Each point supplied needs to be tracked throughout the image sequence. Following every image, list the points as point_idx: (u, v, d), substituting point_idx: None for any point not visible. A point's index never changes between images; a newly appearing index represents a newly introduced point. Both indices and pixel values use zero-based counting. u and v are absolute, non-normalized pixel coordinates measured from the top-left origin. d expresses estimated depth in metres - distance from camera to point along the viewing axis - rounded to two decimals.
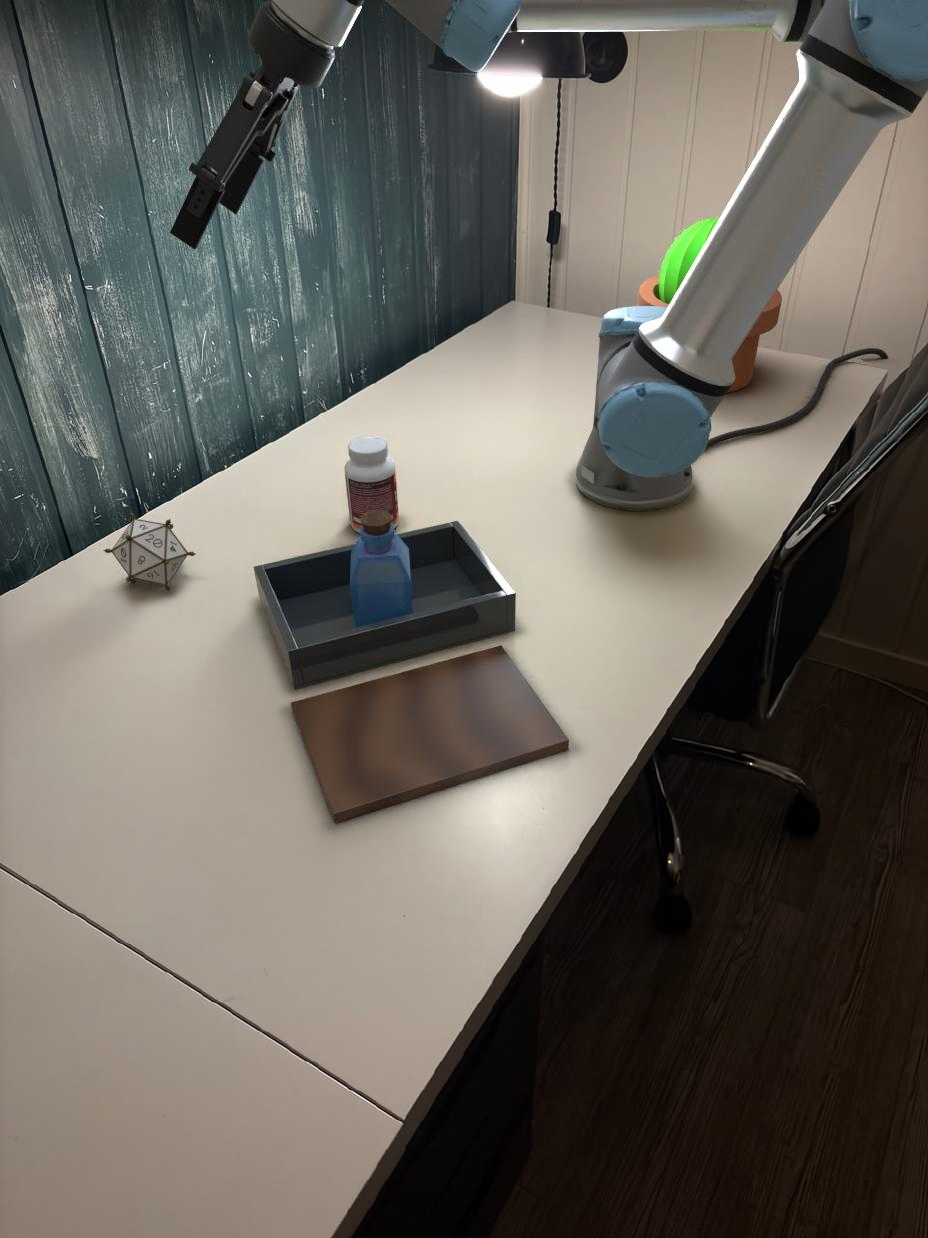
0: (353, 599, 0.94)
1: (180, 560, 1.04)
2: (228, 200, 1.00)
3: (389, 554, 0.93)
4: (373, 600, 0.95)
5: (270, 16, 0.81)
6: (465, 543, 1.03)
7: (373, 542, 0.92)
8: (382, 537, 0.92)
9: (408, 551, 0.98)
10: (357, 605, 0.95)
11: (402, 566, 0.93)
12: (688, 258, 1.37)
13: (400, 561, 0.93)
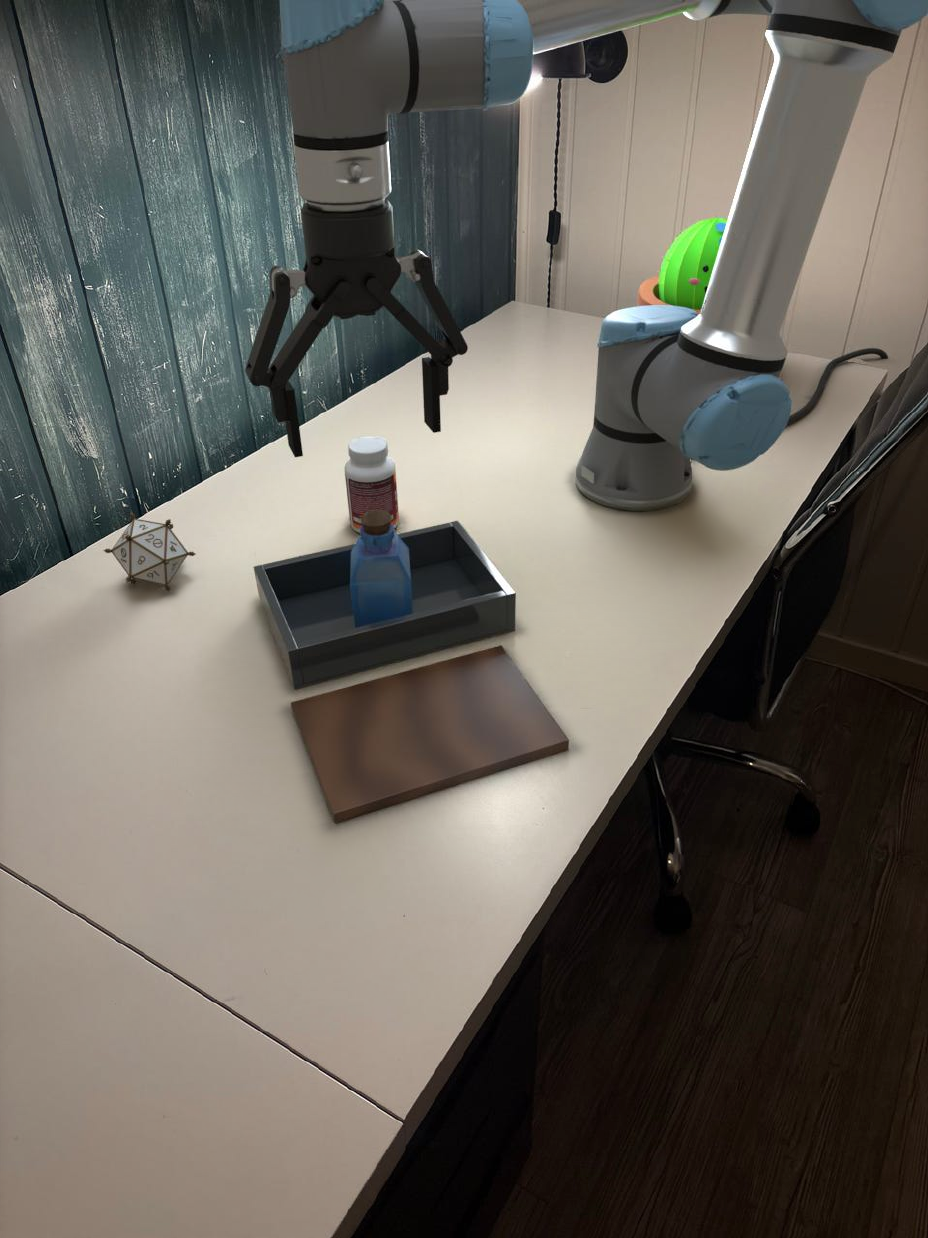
0: (353, 599, 0.94)
1: (180, 560, 1.04)
2: None
3: (389, 554, 0.93)
4: (373, 600, 0.95)
5: (388, 210, 0.75)
6: (465, 543, 1.03)
7: (373, 542, 0.92)
8: (382, 537, 0.92)
9: (408, 551, 0.98)
10: (357, 605, 0.95)
11: (402, 566, 0.93)
12: (688, 258, 1.37)
13: (400, 561, 0.93)
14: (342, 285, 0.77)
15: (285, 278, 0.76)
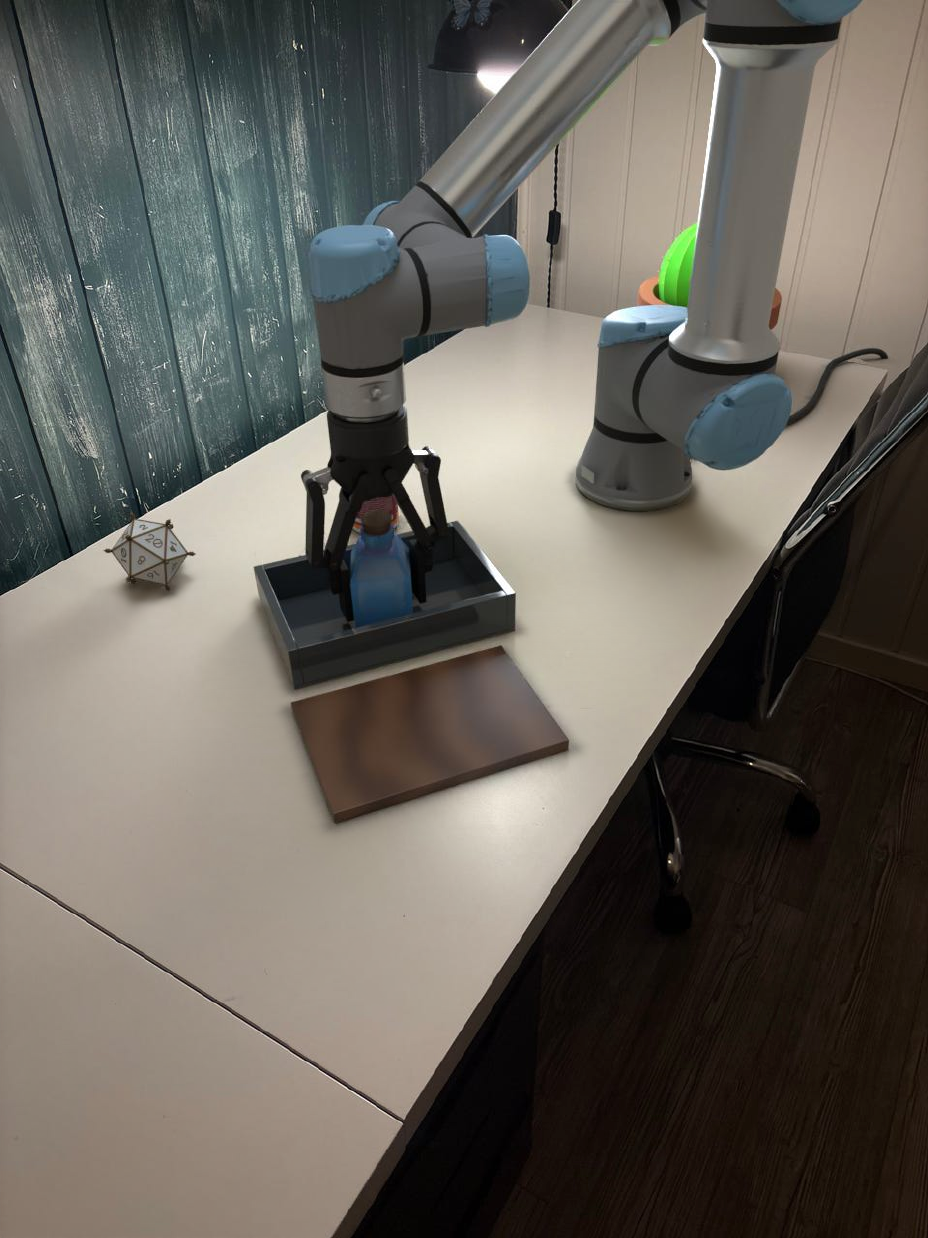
0: (353, 599, 0.94)
1: (180, 560, 1.04)
2: None
3: (389, 554, 0.93)
4: (373, 600, 0.95)
5: (403, 416, 0.85)
6: (465, 543, 1.03)
7: (373, 542, 0.92)
8: (383, 537, 0.92)
9: (408, 551, 0.98)
10: (357, 605, 0.95)
11: (402, 566, 0.93)
12: (688, 258, 1.37)
13: (400, 561, 0.93)
14: (362, 478, 0.87)
15: (315, 484, 0.86)
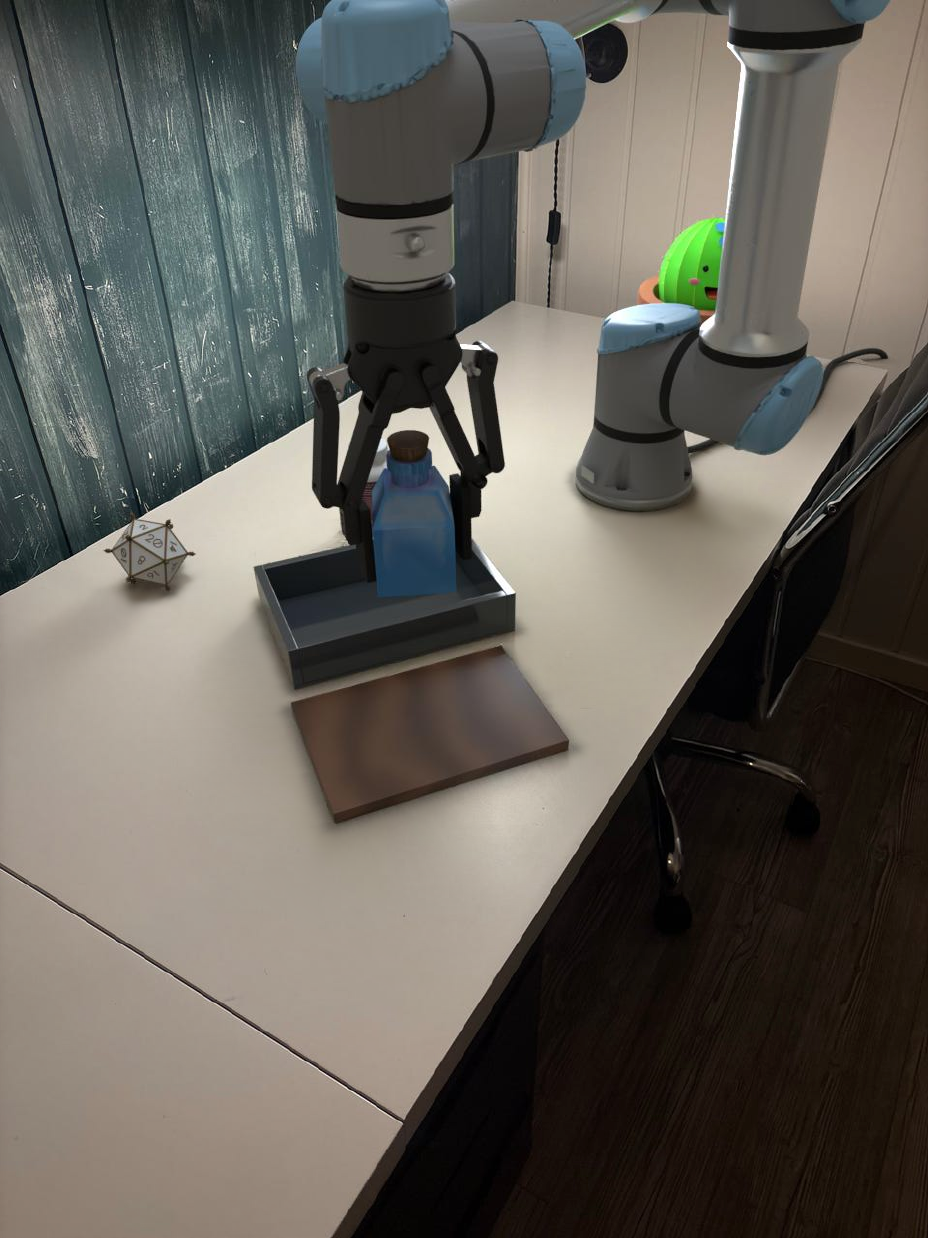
0: (376, 551, 0.70)
1: (180, 560, 1.04)
2: None
3: (426, 489, 0.69)
4: (402, 552, 0.70)
5: (451, 286, 0.61)
6: None
7: (404, 472, 0.68)
8: (417, 466, 0.68)
9: (448, 489, 0.74)
10: (381, 559, 0.71)
11: (443, 505, 0.69)
12: (688, 258, 1.37)
13: (440, 499, 0.69)
14: (392, 377, 0.63)
15: (326, 384, 0.62)
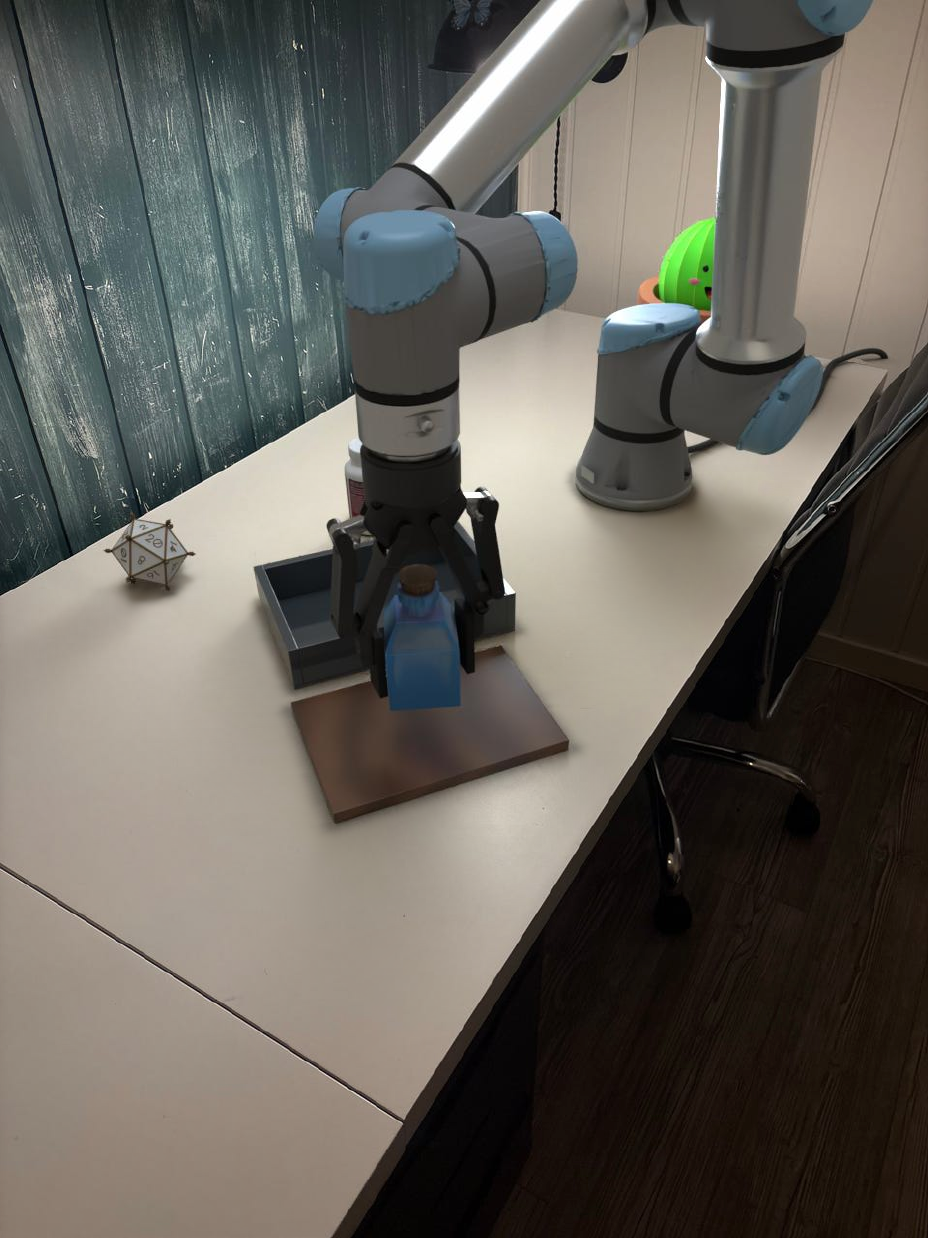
0: (388, 673, 0.77)
1: (180, 560, 1.04)
2: None
3: (433, 619, 0.76)
4: (412, 673, 0.77)
5: (457, 452, 0.68)
6: (465, 543, 1.03)
7: (413, 604, 0.75)
8: (426, 599, 0.75)
9: (453, 611, 0.81)
10: (393, 679, 0.78)
11: (449, 633, 0.76)
12: (688, 258, 1.37)
13: (447, 627, 0.76)
14: (404, 529, 0.70)
15: (344, 537, 0.69)
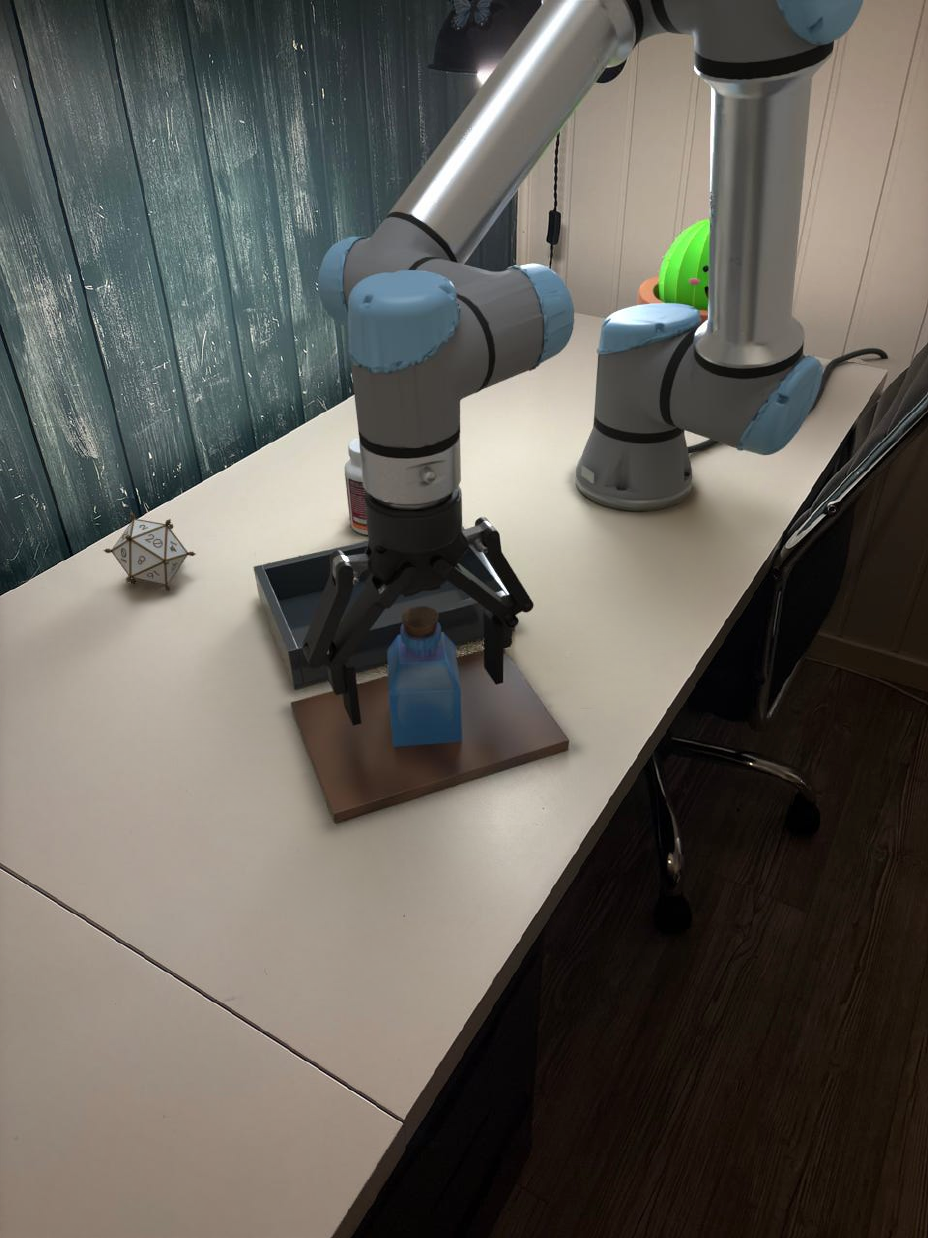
0: (392, 711, 0.80)
1: (180, 560, 1.04)
2: None
3: (435, 659, 0.78)
4: (415, 711, 0.80)
5: (458, 499, 0.70)
6: None
7: (416, 646, 0.77)
8: (428, 641, 0.77)
9: (455, 649, 0.83)
10: (396, 717, 0.80)
11: (451, 673, 0.79)
12: (688, 258, 1.37)
13: (448, 667, 0.78)
14: (408, 571, 0.72)
15: (348, 570, 0.71)
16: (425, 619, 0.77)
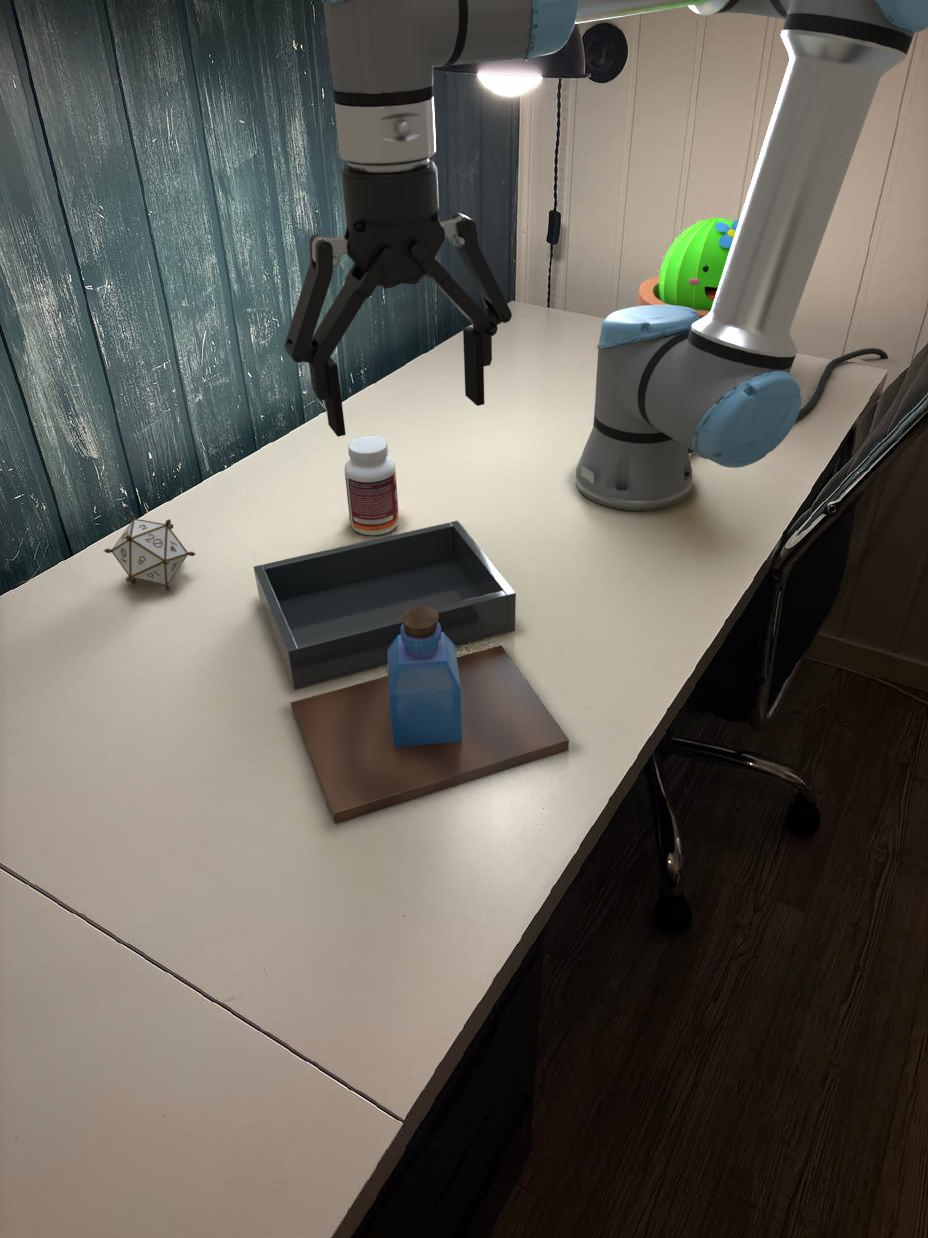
0: (392, 711, 0.80)
1: (180, 560, 1.04)
2: None
3: (435, 659, 0.78)
4: (415, 711, 0.80)
5: (433, 170, 0.71)
6: (465, 543, 1.03)
7: (416, 646, 0.77)
8: (428, 641, 0.77)
9: (455, 649, 0.83)
10: (396, 717, 0.80)
11: (451, 673, 0.79)
12: (688, 258, 1.37)
13: (448, 667, 0.78)
14: (386, 252, 0.73)
15: (328, 246, 0.72)
16: (425, 619, 0.77)
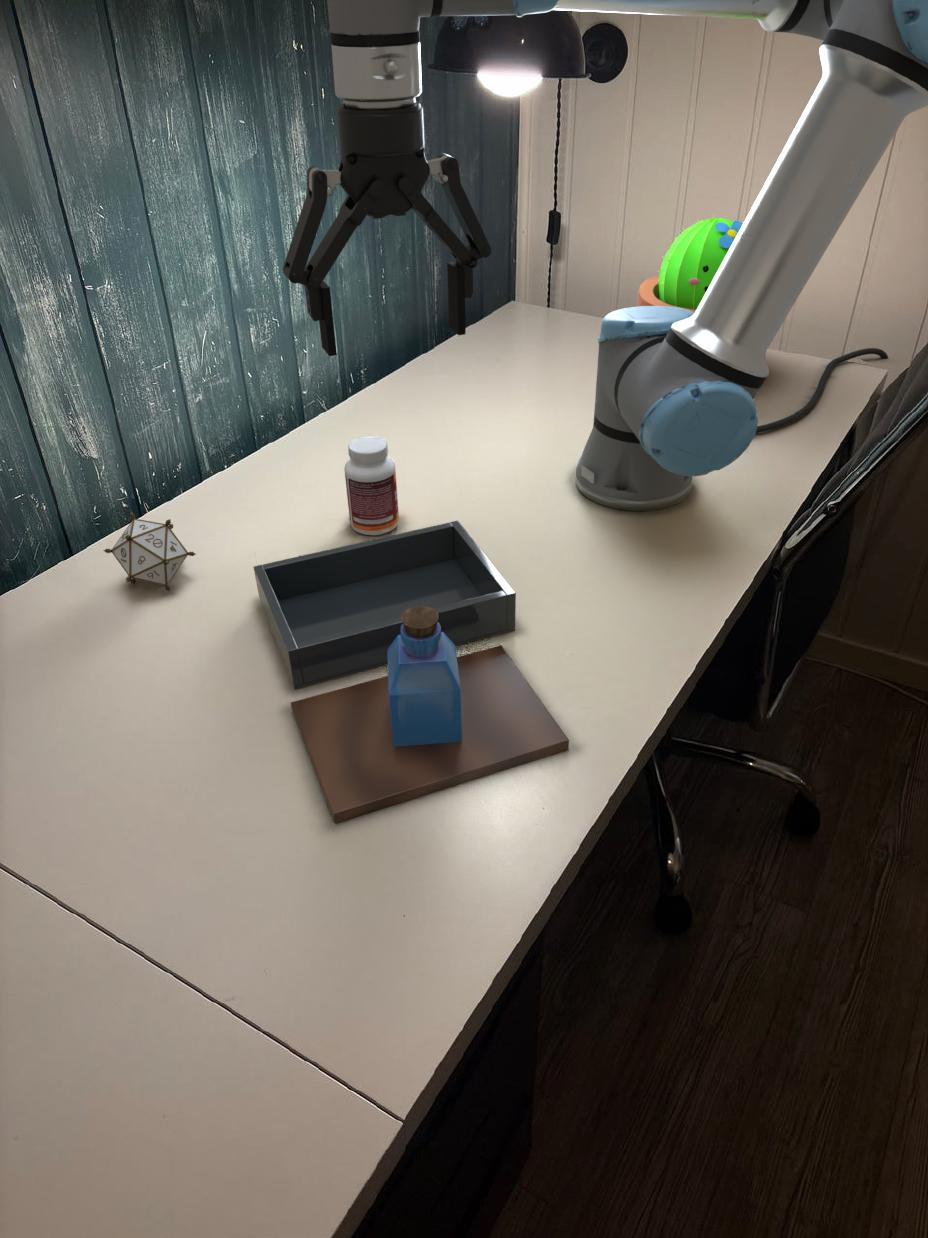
0: (392, 711, 0.80)
1: (180, 560, 1.04)
2: None
3: (435, 659, 0.78)
4: (415, 711, 0.80)
5: (419, 109, 0.79)
6: (465, 543, 1.03)
7: (416, 646, 0.77)
8: (428, 641, 0.77)
9: (455, 649, 0.83)
10: (396, 717, 0.80)
11: (451, 673, 0.79)
12: (688, 258, 1.37)
13: (448, 667, 0.78)
14: (376, 183, 0.81)
15: (323, 176, 0.80)
16: (425, 619, 0.77)
